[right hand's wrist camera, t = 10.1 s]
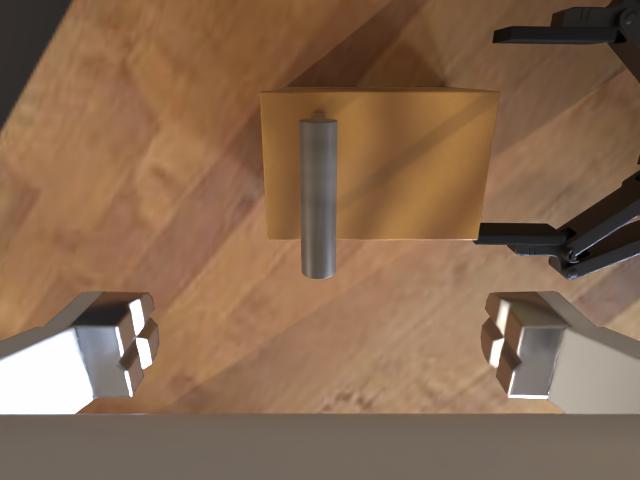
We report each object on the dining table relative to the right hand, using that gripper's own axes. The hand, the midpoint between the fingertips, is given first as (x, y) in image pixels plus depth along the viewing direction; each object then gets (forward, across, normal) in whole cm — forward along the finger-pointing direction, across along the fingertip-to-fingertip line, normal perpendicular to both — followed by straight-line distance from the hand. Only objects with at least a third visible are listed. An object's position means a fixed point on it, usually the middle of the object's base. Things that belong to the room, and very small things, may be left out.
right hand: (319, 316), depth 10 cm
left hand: (+21, -12, -1) cm, 24 cm away
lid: (+18, -3, 0) cm, 18 cm away
